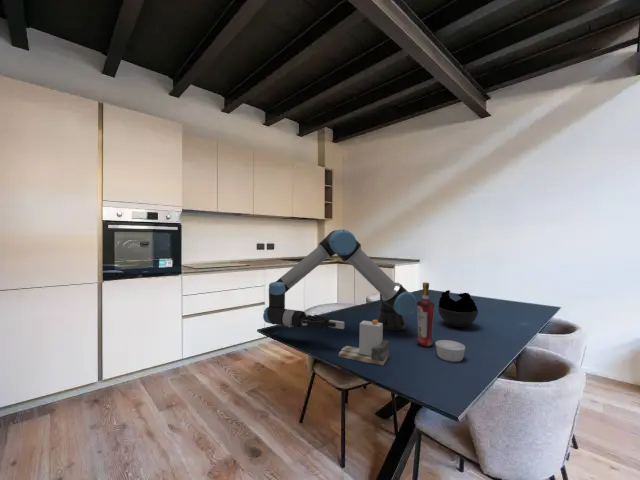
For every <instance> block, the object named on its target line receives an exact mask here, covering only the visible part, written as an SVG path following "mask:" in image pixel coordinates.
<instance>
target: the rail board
mask: <svg viewBox="0 0 640 480" xmlns="http://www.w3.org/2000/svg"><path fill="white" fill-rule="evenodd" d="M389 344H390V341H389V340H383V341H382V343H381V344H380V346H379V347H378V349H376V348H372V356H368V355H363V354H359V347H355V346H351V345H350V346H349V345H346V346H344V347H342V348H341V350H340V351H339V352H338V358H343V359H349V360H353V361H359V362H363V363H369V364H373V365H377V366H384V365H385V363H386V362H387V360H388V358H389V355H390V354H389V353H390V352H389V350H390V347H389V346H390V345H389Z"/></svg>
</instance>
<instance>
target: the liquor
mask: <svg viewBox="0 0 640 480" xmlns="http://www.w3.org/2000/svg"><path fill="white" fill-rule="evenodd" d="M429 289H430V283H429V282H422V296H421V297H422V298H421V299H420V300H418V301H417V304H416V309H417V310H416V312H417V313H416V315H417V317H416V319H417V340H416V343H418V345H419V346H421V347H424V348H429V347H431V346H432V345H433V344H434V343H433V329H434V328H433V327H434V325H433V324H434V315H435V314H434V312H435V303H434V302H433V301H431V300H430V294H429V292H430V291H429Z"/></svg>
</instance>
